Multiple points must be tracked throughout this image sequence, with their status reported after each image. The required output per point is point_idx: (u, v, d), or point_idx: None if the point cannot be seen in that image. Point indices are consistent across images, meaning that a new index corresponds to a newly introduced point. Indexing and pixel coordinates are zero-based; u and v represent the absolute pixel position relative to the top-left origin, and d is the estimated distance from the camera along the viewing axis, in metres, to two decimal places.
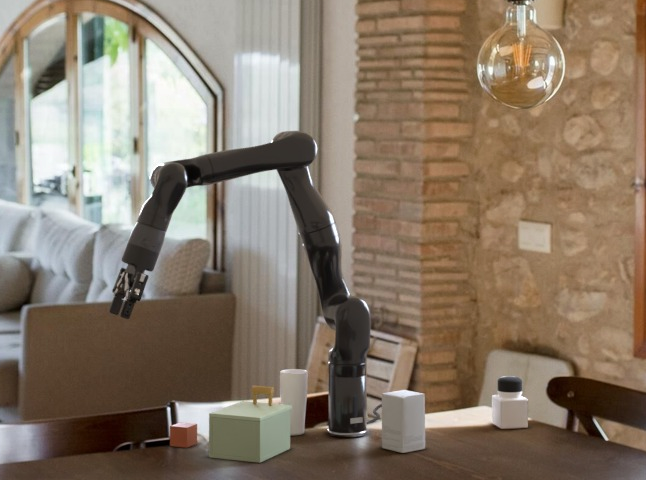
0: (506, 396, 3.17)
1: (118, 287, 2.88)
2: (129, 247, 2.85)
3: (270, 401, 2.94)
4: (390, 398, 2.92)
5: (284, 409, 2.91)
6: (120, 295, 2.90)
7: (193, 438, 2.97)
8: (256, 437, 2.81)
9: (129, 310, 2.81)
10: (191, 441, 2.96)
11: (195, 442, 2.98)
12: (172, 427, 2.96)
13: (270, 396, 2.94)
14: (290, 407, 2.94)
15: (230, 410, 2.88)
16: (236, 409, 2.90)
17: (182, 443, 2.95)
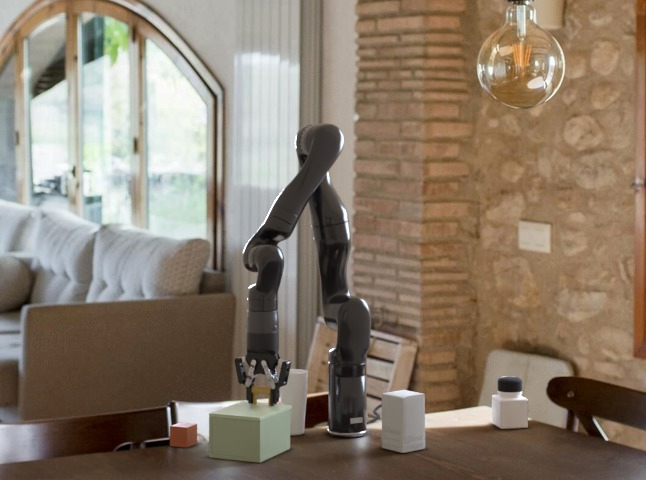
0: (506, 396, 3.17)
1: (252, 376, 2.95)
2: (260, 337, 2.92)
3: None
4: (390, 398, 2.92)
5: (284, 409, 2.91)
6: (252, 384, 2.96)
7: (193, 438, 2.97)
8: (256, 437, 2.81)
9: (278, 396, 2.94)
10: (191, 441, 2.96)
11: (195, 442, 2.98)
12: (172, 427, 2.96)
13: None
14: (290, 407, 2.94)
15: (230, 410, 2.88)
16: (236, 409, 2.90)
17: (182, 443, 2.95)
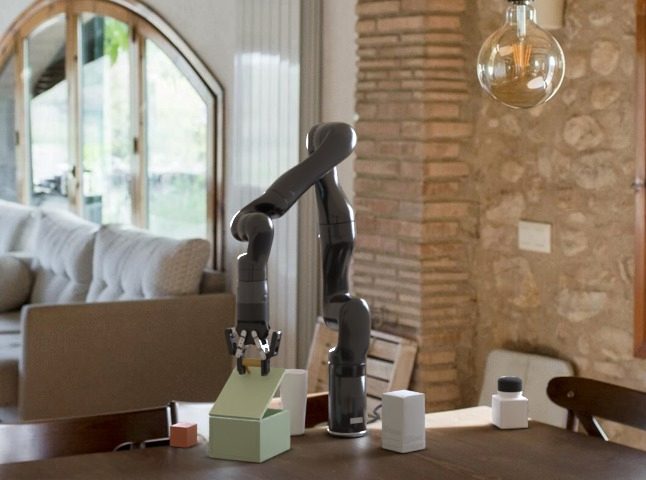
0: (506, 396, 3.17)
1: (242, 347, 2.91)
2: (250, 307, 2.88)
3: None
4: (390, 398, 2.92)
5: (280, 381, 2.89)
6: (242, 354, 2.92)
7: (193, 438, 2.97)
8: (256, 437, 2.81)
9: (268, 367, 2.90)
10: (191, 441, 2.96)
11: (195, 442, 2.98)
12: (172, 427, 2.96)
13: None
14: (285, 371, 2.92)
15: (228, 400, 2.88)
16: (233, 395, 2.88)
17: (182, 443, 2.95)
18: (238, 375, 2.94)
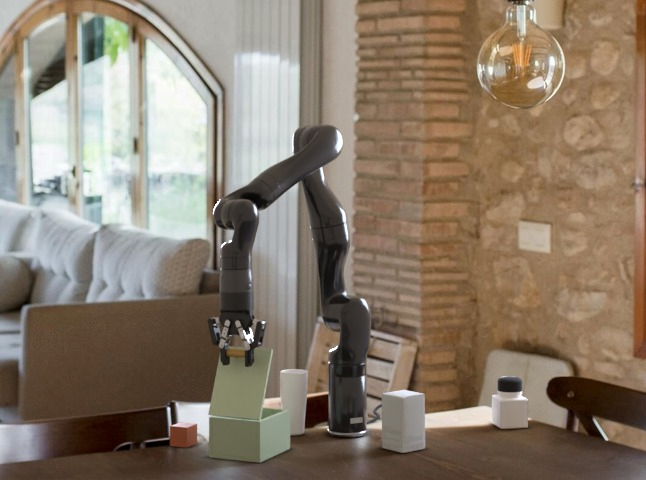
0: (506, 396, 3.17)
1: (226, 337, 2.84)
2: (234, 296, 2.81)
3: None
4: (390, 398, 2.92)
5: (269, 366, 2.85)
6: (226, 345, 2.86)
7: (193, 438, 2.97)
8: (256, 437, 2.81)
9: (253, 357, 2.83)
10: (191, 441, 2.96)
11: (195, 442, 2.98)
12: (172, 427, 2.96)
13: None
14: (271, 352, 2.86)
15: (223, 395, 2.86)
16: (227, 388, 2.86)
17: (182, 443, 2.95)
18: None
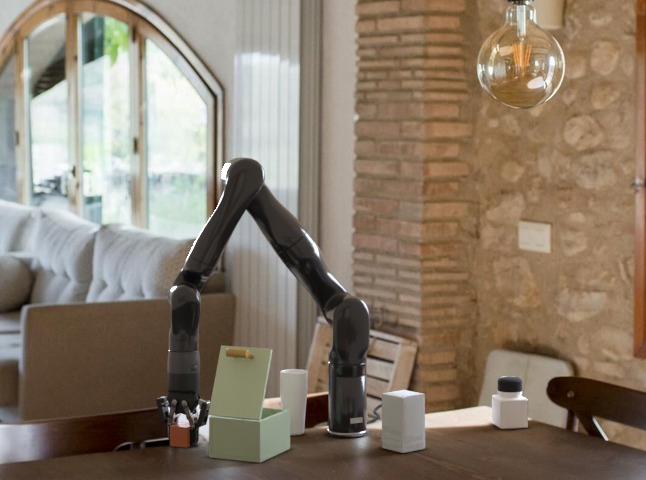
0: (506, 396, 3.17)
1: (173, 416, 2.97)
2: (180, 378, 2.94)
3: (250, 357, 2.86)
4: (390, 398, 2.92)
5: (269, 365, 2.84)
6: (174, 423, 2.99)
7: None
8: (256, 437, 2.81)
9: (197, 436, 2.96)
10: None
11: None
12: (172, 427, 2.96)
13: None
14: (271, 352, 2.86)
15: (223, 395, 2.86)
16: (227, 388, 2.86)
17: (182, 443, 2.95)
18: (226, 360, 2.89)
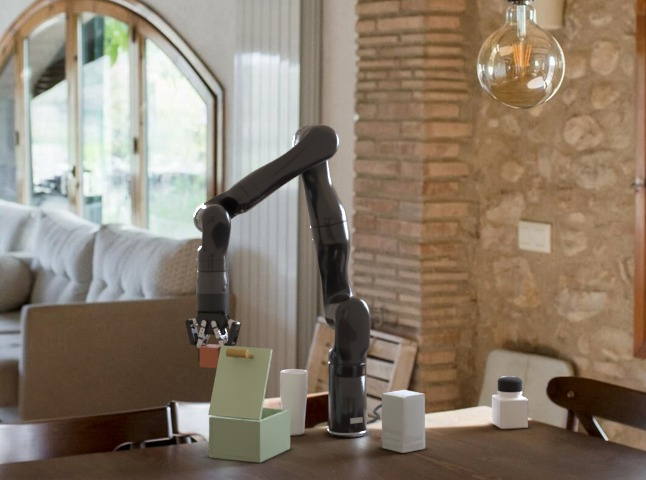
0: (506, 396, 3.17)
1: (203, 337, 2.95)
2: (209, 298, 2.92)
3: (250, 357, 2.86)
4: (390, 398, 2.92)
5: (269, 365, 2.84)
6: (204, 345, 2.97)
7: None
8: (256, 437, 2.81)
9: None
10: None
11: None
12: (202, 348, 2.94)
13: None
14: (271, 352, 2.86)
15: (223, 395, 2.86)
16: (227, 388, 2.86)
17: (212, 363, 2.93)
18: (226, 360, 2.89)
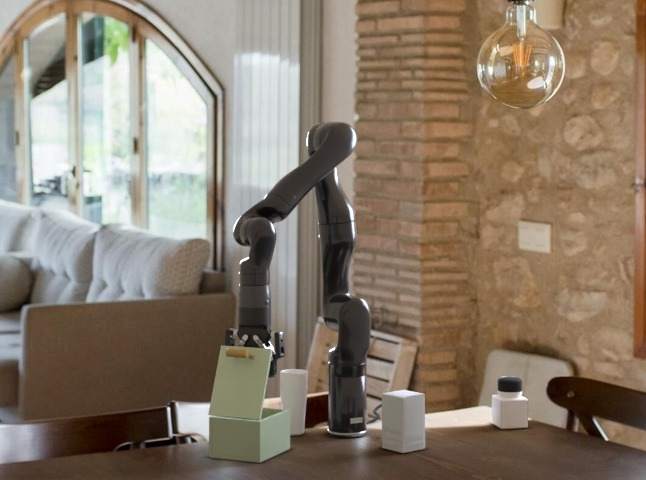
0: (506, 396, 3.17)
1: None
2: (252, 312, 2.88)
3: (250, 357, 2.86)
4: (390, 398, 2.92)
5: (269, 365, 2.84)
6: None
7: None
8: (256, 437, 2.81)
9: (275, 368, 2.90)
10: None
11: None
12: None
13: None
14: (271, 352, 2.86)
15: (223, 395, 2.86)
16: (227, 388, 2.86)
17: None
18: (226, 360, 2.89)
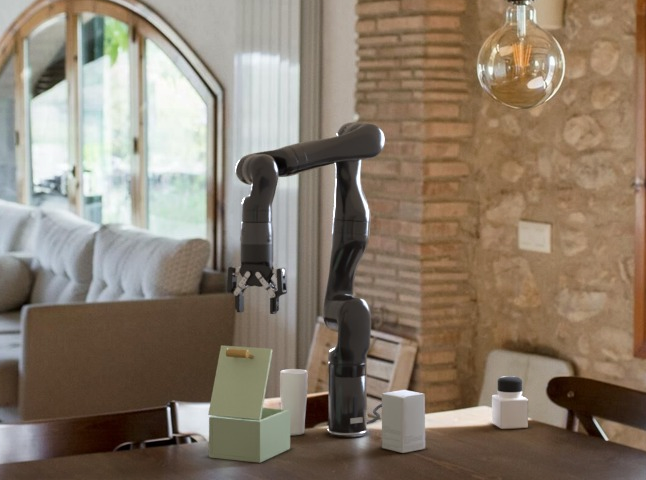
0: (506, 396, 3.17)
1: (242, 287, 2.93)
2: (254, 248, 2.90)
3: (250, 357, 2.86)
4: (390, 398, 2.92)
5: (269, 365, 2.84)
6: (241, 293, 2.95)
7: None
8: (256, 437, 2.81)
9: (277, 305, 2.91)
10: None
11: None
12: None
13: None
14: (271, 352, 2.86)
15: (223, 395, 2.86)
16: (227, 388, 2.86)
17: None
18: (226, 360, 2.89)
